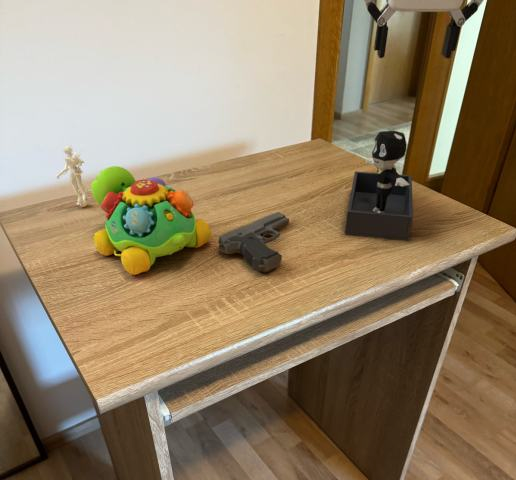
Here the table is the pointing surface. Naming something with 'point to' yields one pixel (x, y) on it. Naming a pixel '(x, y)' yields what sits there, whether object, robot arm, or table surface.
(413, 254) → the table surface
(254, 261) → the handgun
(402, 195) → the dark grey open box
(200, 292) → the table surface
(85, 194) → the figurine
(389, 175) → the toy
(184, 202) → the turtle toy
